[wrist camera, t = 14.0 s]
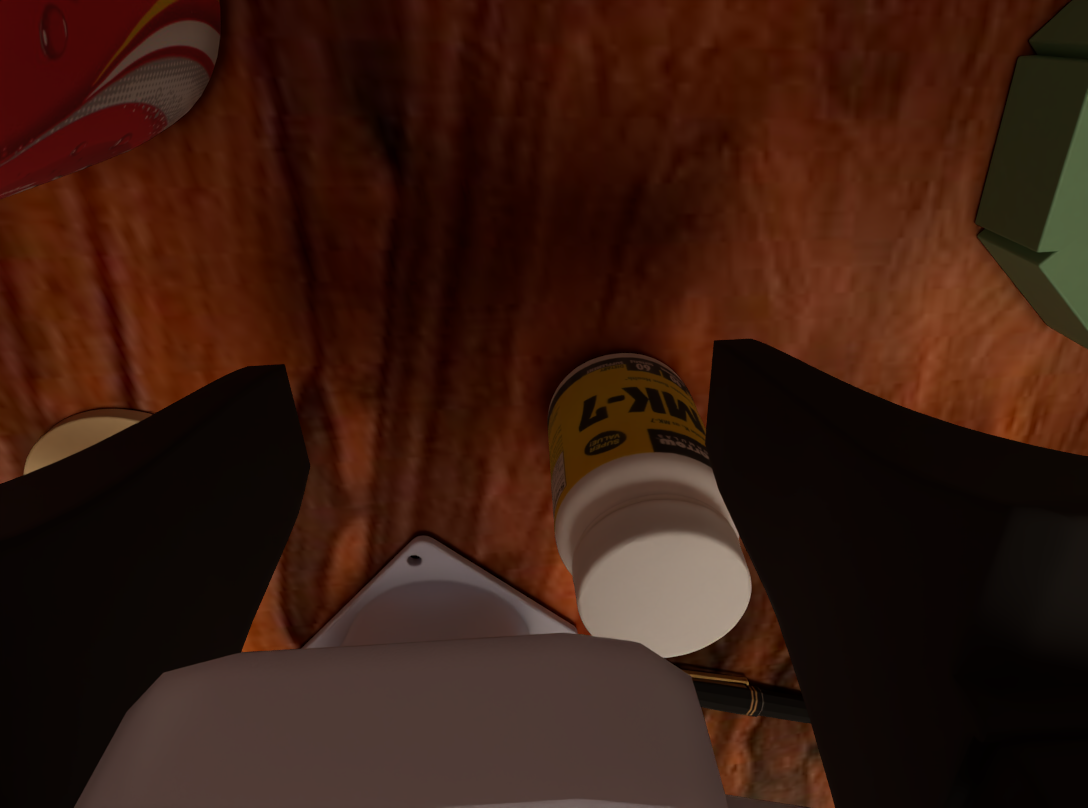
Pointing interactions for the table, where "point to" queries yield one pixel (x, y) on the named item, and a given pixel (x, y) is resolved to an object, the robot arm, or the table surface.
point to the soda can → (95, 79)
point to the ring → (1045, 176)
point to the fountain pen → (746, 698)
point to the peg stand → (79, 435)
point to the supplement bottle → (642, 508)
